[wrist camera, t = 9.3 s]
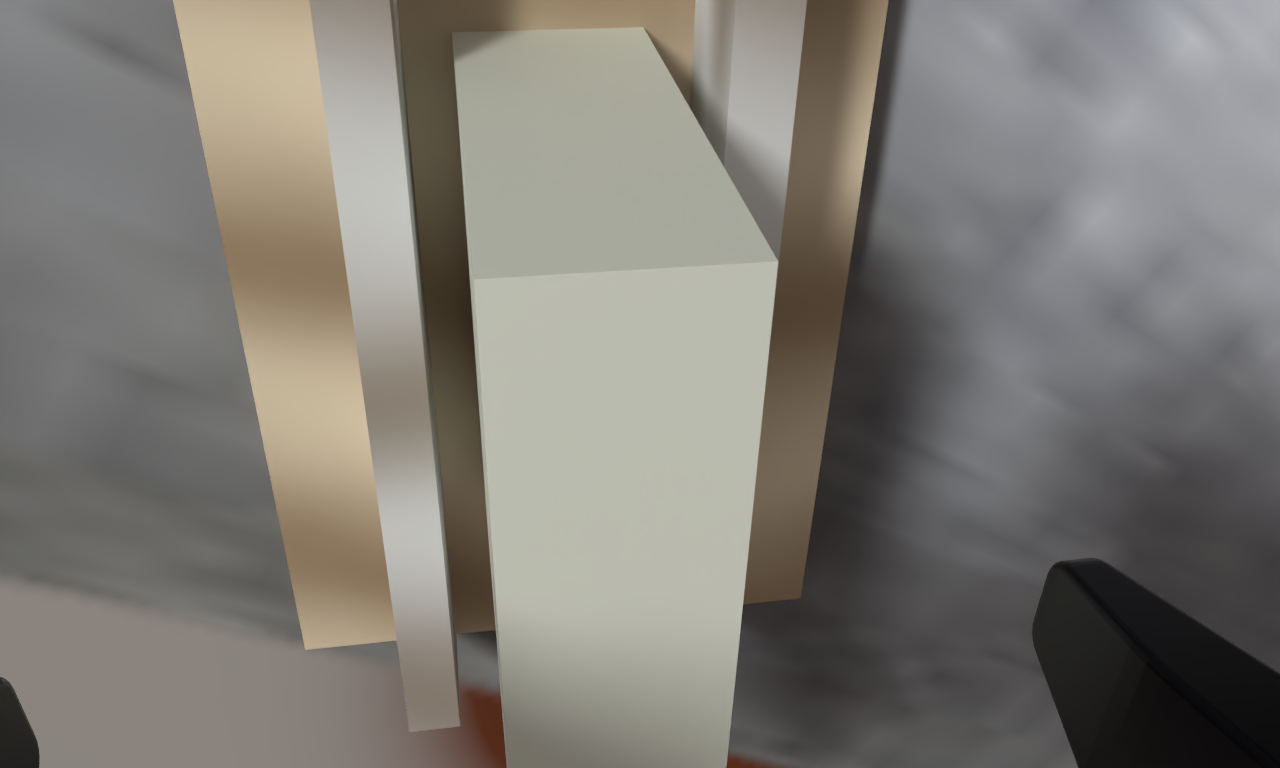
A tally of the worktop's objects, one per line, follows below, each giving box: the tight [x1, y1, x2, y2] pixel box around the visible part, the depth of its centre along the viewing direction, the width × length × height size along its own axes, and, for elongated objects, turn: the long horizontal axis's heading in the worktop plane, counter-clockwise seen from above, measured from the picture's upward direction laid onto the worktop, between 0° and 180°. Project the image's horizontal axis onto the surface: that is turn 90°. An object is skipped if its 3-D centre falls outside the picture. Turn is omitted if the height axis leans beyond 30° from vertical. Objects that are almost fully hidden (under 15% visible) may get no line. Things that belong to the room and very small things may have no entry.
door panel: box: [452, 27, 778, 768], centre depth 17 cm, size 9×3×8 cm, turn 179°
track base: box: [173, 0, 889, 732], centre depth 19 cm, size 17×11×4 cm, turn 179°
